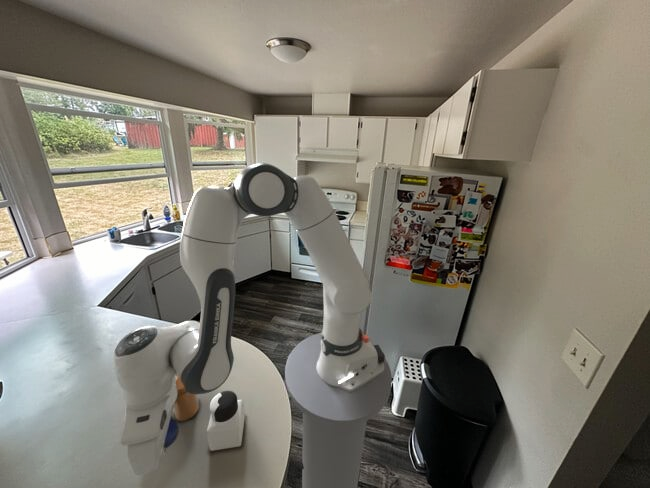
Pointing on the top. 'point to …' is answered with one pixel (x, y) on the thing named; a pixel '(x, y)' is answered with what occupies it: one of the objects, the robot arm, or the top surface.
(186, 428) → the top surface
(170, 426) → the jar lid
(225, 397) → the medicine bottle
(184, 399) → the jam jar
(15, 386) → the top surface
